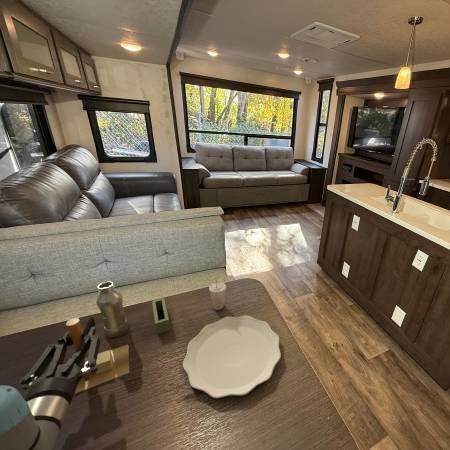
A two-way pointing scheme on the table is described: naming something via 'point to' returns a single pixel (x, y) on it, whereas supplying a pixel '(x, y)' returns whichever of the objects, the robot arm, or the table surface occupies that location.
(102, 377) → the cutting board
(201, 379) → the plate
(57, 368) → the robot arm
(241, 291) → the table surface
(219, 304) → the smoothie
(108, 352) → the butter right
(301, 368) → the table surface
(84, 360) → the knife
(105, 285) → the plastic bottle
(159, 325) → the green rectangular holder
